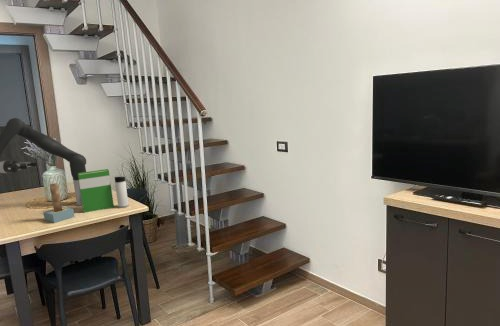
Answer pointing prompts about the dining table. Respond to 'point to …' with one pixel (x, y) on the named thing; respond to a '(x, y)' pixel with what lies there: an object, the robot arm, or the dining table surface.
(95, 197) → the hardback book
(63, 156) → the robot arm
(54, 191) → the peg
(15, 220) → the dining table surface
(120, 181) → the travel mug
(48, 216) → the socket block
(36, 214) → the dining table surface
